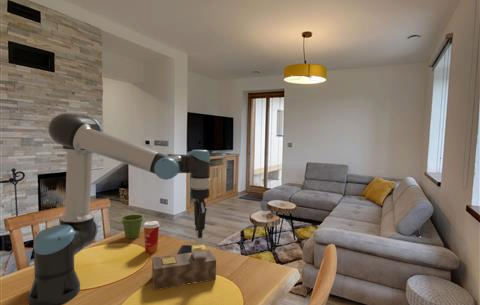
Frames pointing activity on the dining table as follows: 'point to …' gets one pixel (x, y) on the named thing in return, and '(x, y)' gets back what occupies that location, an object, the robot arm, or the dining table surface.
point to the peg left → (168, 261)
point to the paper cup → (151, 236)
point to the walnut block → (182, 270)
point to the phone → (185, 249)
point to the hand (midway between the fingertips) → (199, 244)
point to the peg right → (198, 252)
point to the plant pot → (132, 225)
